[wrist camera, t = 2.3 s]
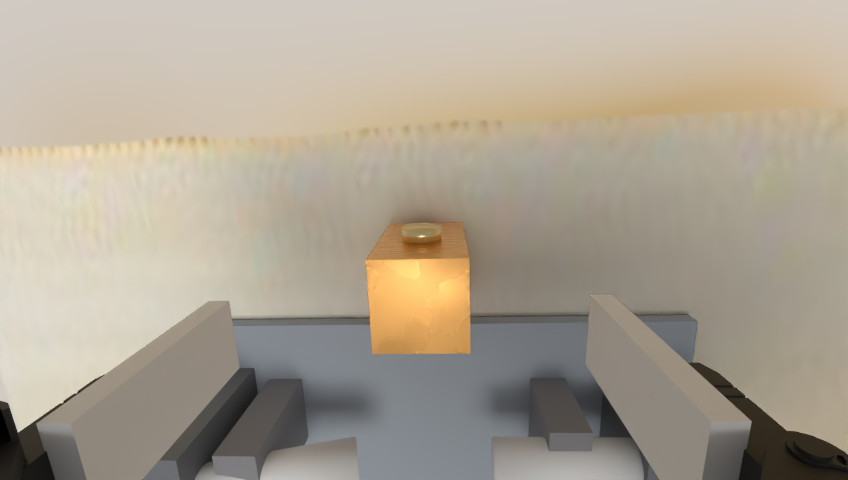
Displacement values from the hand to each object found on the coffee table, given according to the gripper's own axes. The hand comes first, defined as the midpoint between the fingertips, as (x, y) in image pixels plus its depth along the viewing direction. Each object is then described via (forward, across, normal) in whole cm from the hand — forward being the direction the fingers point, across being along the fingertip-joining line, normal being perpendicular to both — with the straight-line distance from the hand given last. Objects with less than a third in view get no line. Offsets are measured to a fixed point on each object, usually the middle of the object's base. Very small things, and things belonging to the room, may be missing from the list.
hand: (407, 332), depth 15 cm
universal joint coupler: (+11, 0, 0) cm, 11 cm away
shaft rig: (+11, 0, +10) cm, 15 cm away
